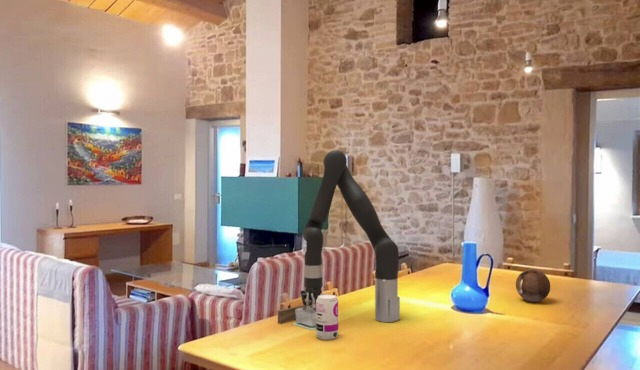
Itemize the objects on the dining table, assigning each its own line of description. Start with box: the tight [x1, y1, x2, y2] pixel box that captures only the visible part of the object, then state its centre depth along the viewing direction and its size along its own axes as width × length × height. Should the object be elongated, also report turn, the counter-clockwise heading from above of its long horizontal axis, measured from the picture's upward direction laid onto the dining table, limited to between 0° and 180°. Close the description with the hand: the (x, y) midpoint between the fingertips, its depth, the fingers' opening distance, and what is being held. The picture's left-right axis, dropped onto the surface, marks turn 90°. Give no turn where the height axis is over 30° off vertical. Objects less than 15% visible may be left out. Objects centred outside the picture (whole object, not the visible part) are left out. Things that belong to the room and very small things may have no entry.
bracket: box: [295, 304, 316, 326], centre depth 214 cm, size 10×10×5 cm
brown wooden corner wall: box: [277, 303, 313, 325], centre depth 218 cm, size 14×19×5 cm
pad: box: [291, 321, 316, 331], centre depth 214 cm, size 12×12×1 cm
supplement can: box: [315, 294, 339, 341], centre depth 197 cm, size 8×8×15 cm
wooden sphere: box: [515, 268, 551, 303], centre depth 250 cm, size 15×15×15 cm
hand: (313, 317), depth 218 cm, fingers open, 4 cm apart
